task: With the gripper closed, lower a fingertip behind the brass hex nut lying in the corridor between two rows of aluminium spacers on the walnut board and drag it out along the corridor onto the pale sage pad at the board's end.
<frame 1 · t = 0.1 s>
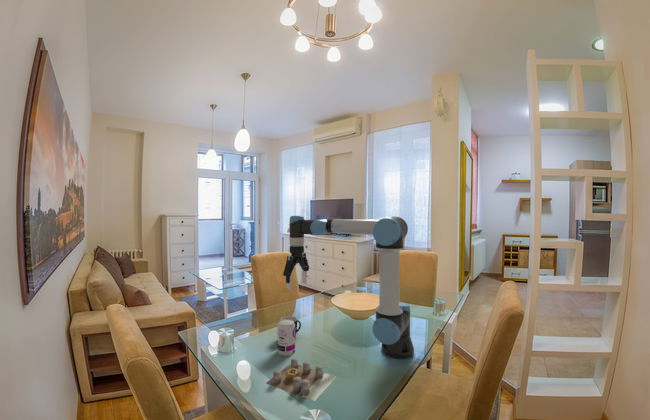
hand: (296, 286, 152), 28 cm above the table, fingers open, 13 cm apart
supplement can: (286, 354, 137), on the table
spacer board: (301, 382, 115), on the table
mug: (291, 338, 154), on the table
brass nut: (292, 377, 116), point 1 cm above the table, touching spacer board
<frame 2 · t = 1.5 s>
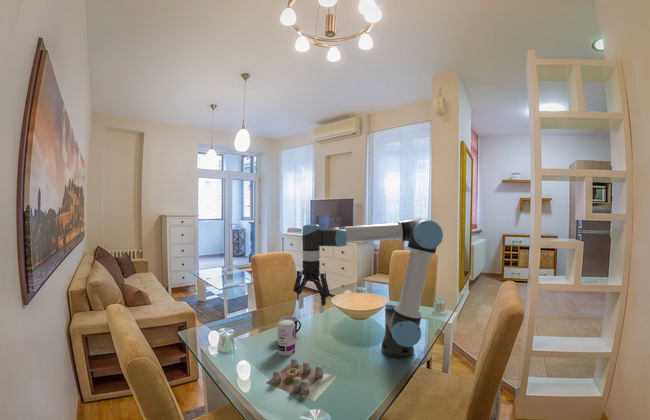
hand: (311, 310, 128), 24 cm above the table, fingers open, 10 cm apart
nothing on the table moved.
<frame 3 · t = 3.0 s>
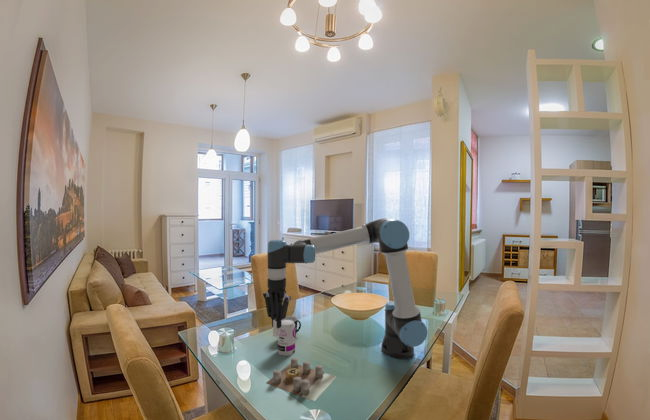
hand: (276, 335, 120), 16 cm above the table, fingers closed
nothing on the table moved.
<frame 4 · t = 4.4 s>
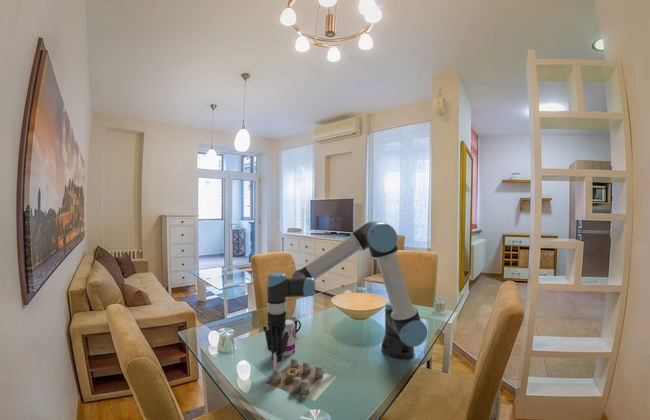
hand: (276, 368, 120), 3 cm above the table, fingers closed
nothing on the table moved.
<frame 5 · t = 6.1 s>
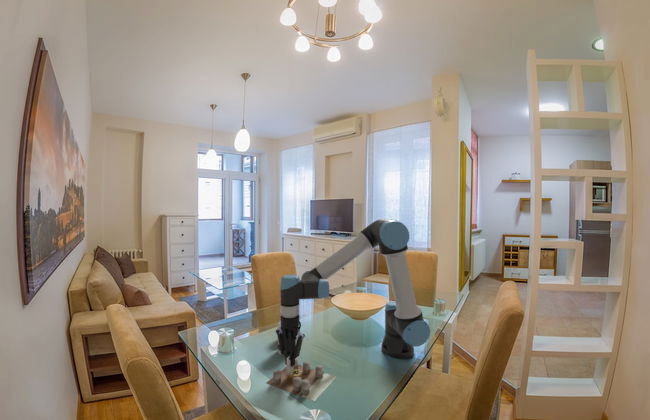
hand: (290, 373, 117), 3 cm above the table, fingers closed
brass nut: (296, 378, 115), point 1 cm above the table, touching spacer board
everything else where it was.
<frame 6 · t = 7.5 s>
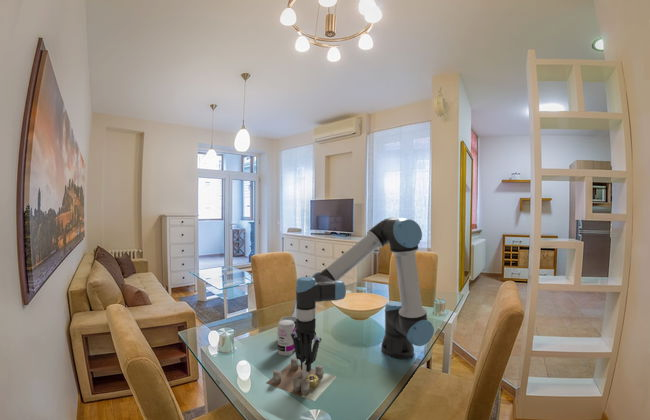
hand: (305, 378, 113), 3 cm above the table, fingers closed
brass nut: (312, 384, 112), point 1 cm above the table, touching gripper
everything else where it was.
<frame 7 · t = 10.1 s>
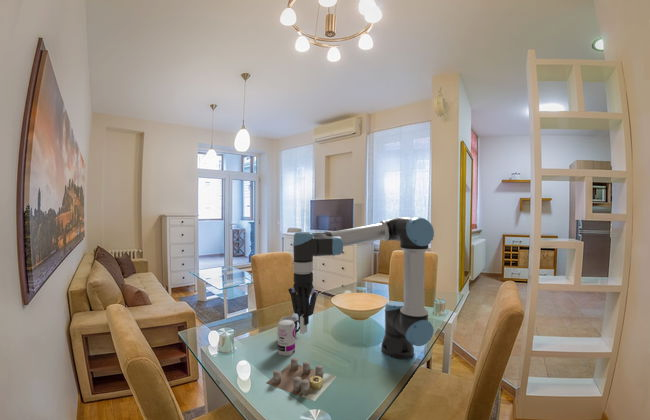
hand: (303, 332, 114), 20 cm above the table, fingers closed
brass nut: (315, 385, 111), point 1 cm above the table, touching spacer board
everything else where it was.
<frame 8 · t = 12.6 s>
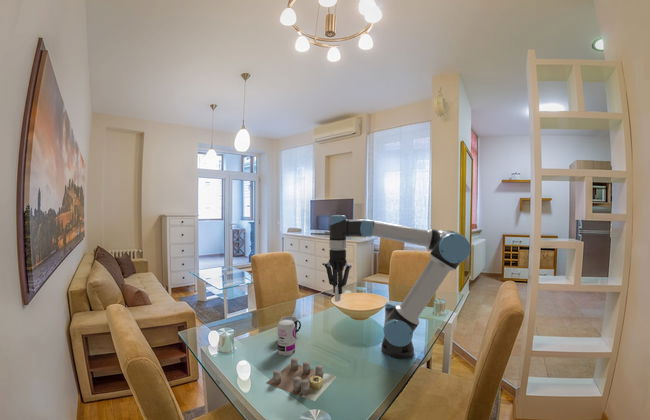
hand: (337, 300, 133), 26 cm above the table, fingers closed
nothing on the table moved.
at the end: brass nut inside the target area (1.2 cm from its centre), point 1.2 cm above the table; brass nut moved 10.8 cm from its start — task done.
